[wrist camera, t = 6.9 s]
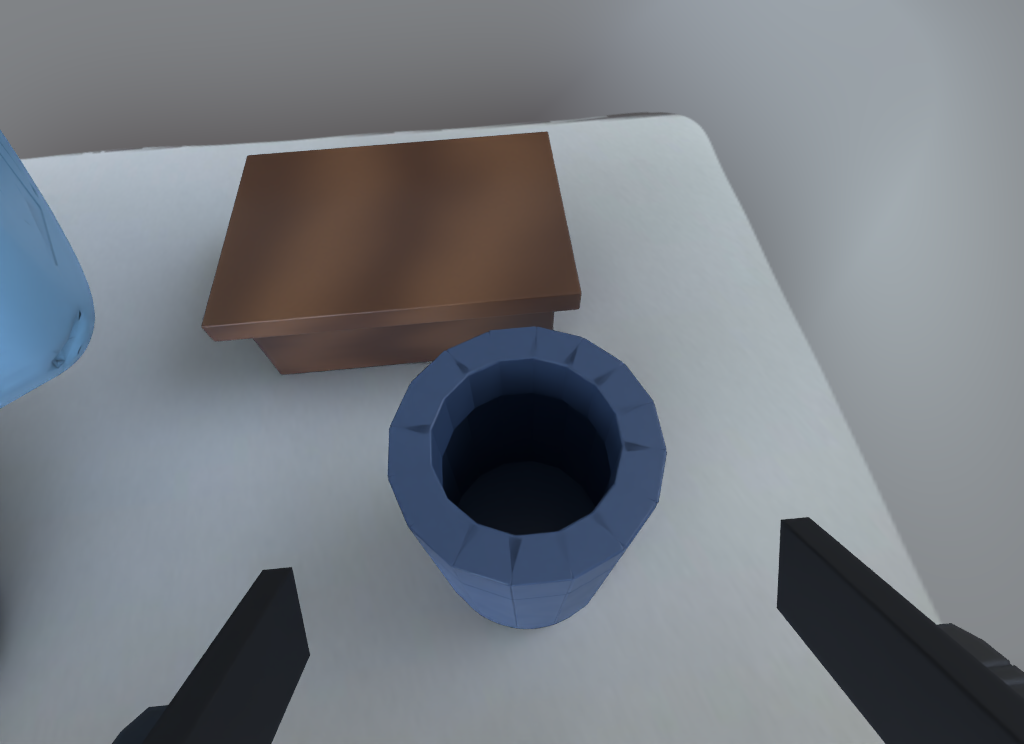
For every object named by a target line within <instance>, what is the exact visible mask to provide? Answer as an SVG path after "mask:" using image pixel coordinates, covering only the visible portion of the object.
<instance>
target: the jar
mask: <svg viewBox="0 0 1024 744" xmlns="http://www.w3.org/2000/svg"><path fill="white" fill-rule="evenodd" d="M666 455H667V452H666V446H665V442H664V438H663V434H662V431H661V427H660V423H659V419H658V416H657V412H656V408H655V404H654V403H653V400H652V399H651V397H650V396H649V395H648V393H647V392H646V391H645V389H644V388H643V387H642V386H641V384H640V383H639V382H638V380H637V379H636V378H635V376H634V375H633V374H632V372H631V371H630V370H629V369H628V367H627V366H626V365H625V364H623V362H622V361H620V360H618V359H617V358H615V357H614V356H612V355H611V354H609V353H607V352H606V351H604V350H603V349H601V348H599V347H598V346H596V345H595V344H593V343H591V342H590V341H588V340H587V339H585V338H582V337H580V336H575V335H571V334H567V333H563V332H558V331H554V330H550V329H546V328H541V327H536V326H533V327H521V328H510V329H499V330H490V331H489V332H486V333H483V334H481V335H479V336H477V337H474V338H472V339H470V340H468V341H465V342H463V343H461V344H458V345H456V346H454V347H452V348H449V349H448V350H447V351H443V352H442V353H441V354H440V355H439V356H438V357H437V358H436V359H435V360H434V361H433V362H432V363H431V364H430V365H429V366H427V367H426V368H425V369H424V370H423V371H422V372H421V373H420V374H419V375H418V376H417V377H416V378H415V379H414V380H413V381H412V382H411V384H410V385H409V387H408V389H407V391H406V393H405V395H404V398H403V400H402V402H401V404H400V406H399V408H398V410H397V412H396V415H395V417H394V419H393V421H392V423H391V425H390V428H389V453H388V480H389V482H390V485H391V487H392V490H393V492H394V494H395V497H396V499H397V502H398V504H399V506H400V509H401V511H402V514H403V516H404V518H405V521H406V523H407V525H408V527H409V529H410V530H411V531H412V533H413V534H414V535H415V537H416V538H417V540H418V541H419V542H420V544H421V545H422V546H423V548H424V549H425V550H426V552H427V553H428V554H429V556H430V557H431V559H432V560H433V561H434V563H435V564H436V565H437V567H438V568H439V569H440V571H441V572H442V574H443V575H444V576H445V578H446V579H447V580H448V582H449V583H450V584H451V586H452V587H453V589H454V590H455V591H456V593H458V594H459V595H460V596H461V597H462V598H463V599H464V600H465V601H466V602H467V603H468V604H469V605H470V606H471V607H472V608H473V609H474V610H475V611H477V612H478V613H479V614H480V615H481V616H483V617H485V618H487V619H489V620H491V621H493V622H496V623H498V624H501V625H504V626H508V627H512V628H521V629H535V628H541V627H547V626H550V625H554V624H557V623H559V622H561V621H563V620H565V619H567V618H569V617H570V616H572V615H573V614H575V613H576V612H578V611H579V610H580V609H582V608H583V607H585V606H586V605H587V604H588V603H589V601H590V600H591V598H592V597H593V596H594V594H595V593H596V591H597V590H598V589H599V587H600V586H601V584H602V583H603V581H604V580H605V579H606V577H607V576H608V574H609V573H610V572H611V570H612V569H613V567H614V566H615V565H616V563H617V562H618V560H619V559H620V558H621V556H622V555H623V553H624V552H625V551H626V549H627V548H628V546H629V545H630V544H631V542H632V541H633V539H634V538H635V536H636V535H637V533H638V532H639V531H640V529H641V528H642V526H643V525H644V523H645V522H646V521H647V519H648V518H649V516H650V515H651V513H652V512H653V510H654V509H655V508H656V505H657V503H658V502H659V496H660V491H661V485H662V479H663V473H664V467H665V461H666Z"/></svg>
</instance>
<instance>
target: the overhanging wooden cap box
mask: <svg viewBox="0 0 1024 744" xmlns="http://www.w3.org/2000/svg"><path fill="white" fill-rule="evenodd" d="M580 300H581V288H580V284H579V279H578V274H577V269H576V264H575V260H574V255H573V250H572V245H571V241H570V236H569V231H568V226H567V221H566V217H565V212H564V207H563V202H562V198H561V193H560V188H559V183H558V178H557V174H556V169H555V164H554V159H553V154H552V150H551V145H550V140H549V135H548V132H536V133H523V134H511V135H498V136H486V137H473V138H460V139H448V140H435V141H423V142H410V143H398V144H385V145H373V146H360V147H348V148H335V149H323V150H310V151H297V152H285V153H272V154H260V155H248V156H247V159H246V163H245V166H244V170H243V174H242V177H241V181H240V185H239V189H238V192H237V196H236V200H235V203H234V207H233V211H232V214H231V218H230V222H229V226H228V229H227V233H226V237H225V240H224V244H223V248H222V252H221V255H220V259H219V263H218V266H217V270H216V274H215V277H214V281H213V285H212V289H211V292H210V296H209V300H208V303H207V307H206V311H205V315H204V318H203V322H202V328H203V329H204V331H205V332H206V333H207V334H208V335H209V336H210V337H211V338H212V339H213V341H215V342H217V341H228V340H239V339H250V338H253V339H254V341H255V342H256V343H257V344H258V346H259V347H260V348H261V350H262V351H263V352H264V353H265V355H266V356H267V357H268V358H269V360H270V361H271V362H272V364H273V365H274V366H275V367H276V369H277V370H278V371H279V373H280V374H282V375H284V374H295V373H306V372H317V371H328V370H339V369H350V368H361V367H372V366H383V365H394V364H405V363H416V362H427V361H434V360H435V359H436V358H437V357H438V356H439V355H440V354H441V353H442V352H443V351H447V350H448V349H449V348H452V347H454V346H456V345H458V344H461V343H463V342H465V341H468V340H470V339H472V338H474V337H477V336H479V335H481V334H483V333H486V332H489V331H490V330H499V329H510V328H521V327H533V326H536V327H541V328H546V329H550V330H553V321H554V311H565V310H576V309H579V308H580Z"/></svg>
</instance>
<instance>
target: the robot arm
mask: <svg viewBox="0 0 1024 744" xmlns="http://www.w3.org/2000/svg"><path fill="white" fill-rule="evenodd" d="M94 322H95V313H94V305H93V299H92V295H91V292H90V289H89V285H88V282H87V280H86V277H85V275H84V273H83V270H82V268H81V266H80V263H79V261H78V259H77V257H76V255H75V253H74V251H73V249H72V247H71V245H70V243H69V241H68V239H67V238H66V236H65V234H64V232H63V230H62V229H61V227H60V225H59V223H58V221H57V220H56V218H55V216H54V214H53V213H52V211H51V209H50V207H49V205H48V204H47V202H46V201H45V199H44V197H43V196H42V194H41V192H40V191H39V189H38V188H37V186H36V184H35V183H34V181H33V180H32V178H31V176H30V175H29V173H28V172H27V170H26V168H25V167H24V165H23V163H22V162H21V160H20V159H19V157H18V156H17V154H16V153H15V151H14V150H13V148H12V147H11V145H10V144H9V142H8V140H7V139H6V137H5V136H4V135H3V133H2V132H1V130H0V408H2V407H4V406H5V405H7V404H9V403H11V402H12V401H14V400H16V399H18V398H19V397H21V396H23V395H25V394H26V393H28V392H30V391H32V390H33V389H35V388H37V387H39V386H41V385H42V384H44V383H46V382H48V381H49V380H51V379H53V378H55V377H56V376H58V375H60V374H61V373H63V372H64V371H65V370H67V369H68V368H69V367H71V366H72V365H73V364H74V363H75V362H76V361H77V360H78V359H79V358H80V357H81V356H82V354H83V353H84V351H85V350H86V348H87V346H88V344H89V342H90V339H91V336H92V334H93V329H94ZM777 609H778V610H779V611H780V612H781V614H782V615H783V616H784V617H785V619H786V620H787V621H788V622H789V624H790V625H791V626H792V627H793V629H794V630H795V631H796V632H797V634H798V635H799V636H800V637H801V639H802V640H803V641H804V642H805V644H806V645H807V646H808V647H809V649H810V650H811V651H812V652H813V654H814V655H815V656H816V657H817V659H818V660H819V661H820V662H821V664H822V665H823V666H824V667H825V669H826V670H827V671H828V672H829V674H830V675H831V676H832V677H833V679H834V680H835V681H836V682H837V684H838V685H839V686H840V687H841V689H842V690H843V691H844V692H845V694H846V695H847V696H848V697H849V699H850V700H851V701H852V702H853V704H854V705H855V706H856V707H857V709H858V710H859V711H860V712H861V714H862V715H863V716H864V717H865V719H866V720H867V721H868V722H869V724H870V725H871V726H872V727H873V729H874V730H875V731H876V732H877V734H878V735H879V736H880V737H881V739H882V740H883V741H884V742H885V744H1024V672H1023V671H1021V670H1020V669H1019V668H1017V667H1016V666H1015V665H1014V666H1012V665H1011V664H1010V661H1009V660H1007V659H1006V658H1005V657H1004V656H1002V655H1001V654H1000V653H998V652H997V651H996V650H995V649H994V648H992V647H991V646H990V645H989V644H987V643H986V642H985V641H983V640H982V639H980V638H978V637H976V636H974V635H972V634H971V633H969V632H967V631H965V630H963V629H961V628H959V627H957V626H955V625H953V624H952V623H949V624H939V625H936V624H935V623H934V622H933V621H931V620H930V619H929V618H928V617H927V616H925V615H924V614H923V613H922V612H921V611H919V610H918V609H917V608H916V607H915V606H914V605H912V604H911V603H910V602H909V601H908V600H906V599H905V598H904V597H903V596H902V595H901V594H899V593H898V592H897V591H896V590H895V589H893V588H892V587H891V586H890V585H889V584H887V583H886V582H885V581H884V580H883V579H882V578H880V577H879V576H878V575H877V574H876V573H874V572H873V571H872V570H871V569H870V568H868V567H867V566H866V565H865V564H864V563H863V562H861V561H860V560H859V559H858V558H857V557H855V556H854V555H853V554H852V553H851V552H850V551H848V550H847V549H846V548H845V547H844V546H842V545H841V544H840V543H839V542H838V541H836V540H835V539H834V538H833V537H832V536H831V535H829V534H828V533H827V532H826V531H825V530H823V529H822V528H821V527H820V526H819V525H817V524H816V523H815V522H814V521H813V520H812V519H810V518H809V517H806V518H795V519H785V520H781V530H780V552H779V574H778V595H777ZM309 656H310V653H309V648H308V643H307V638H306V633H305V628H304V624H303V619H302V614H301V609H300V604H299V599H298V594H297V589H296V584H295V579H294V575H293V570H292V567H289V568H279V569H269V570H262V572H261V573H260V575H259V576H258V578H257V579H256V580H255V582H254V583H253V585H252V586H251V588H250V589H249V591H248V592H247V593H246V595H245V596H244V598H243V599H242V601H241V602H240V603H239V605H238V606H237V608H236V609H235V611H234V612H233V613H232V615H231V616H230V618H229V619H228V621H227V622H226V623H225V625H224V626H223V628H222V629H221V631H220V632H219V633H218V635H217V636H216V638H215V639H214V641H213V642H212V643H211V645H210V646H209V648H208V649H207V651H206V652H205V654H204V655H203V656H202V658H201V659H200V661H199V662H198V664H197V665H196V666H195V668H194V669H193V671H192V672H191V674H190V675H189V676H188V678H187V679H186V681H185V682H184V684H183V685H182V686H181V688H180V689H179V691H178V692H177V694H176V695H175V696H174V698H173V699H172V701H171V702H170V704H169V705H165V706H156V707H149V708H147V709H146V710H145V711H144V712H143V713H142V714H140V715H139V716H138V717H137V718H136V719H135V720H134V721H132V722H131V723H130V724H129V725H128V726H127V727H125V728H124V729H123V730H122V731H121V732H120V734H119V735H118V736H117V738H116V739H115V740H114V741H113V743H112V744H271V743H272V741H273V738H274V736H275V734H276V731H277V729H278V727H279V725H280V722H281V720H282V718H283V715H284V713H285V711H286V709H287V706H288V704H289V702H290V699H291V697H292V695H293V693H294V690H295V688H296V686H297V683H298V681H299V679H300V677H301V674H302V672H303V670H304V667H305V665H306V663H307V661H308V658H309Z"/></svg>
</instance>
